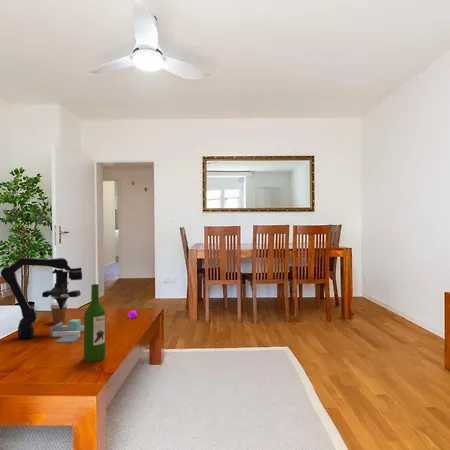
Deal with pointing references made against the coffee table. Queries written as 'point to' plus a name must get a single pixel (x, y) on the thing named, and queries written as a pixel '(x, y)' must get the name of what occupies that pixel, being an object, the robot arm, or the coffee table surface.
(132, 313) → the crystal
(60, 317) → the disposable coffee cup
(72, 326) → the block
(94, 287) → the wine bottle
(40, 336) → the coffee table surface
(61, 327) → the channel
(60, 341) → the coaster
